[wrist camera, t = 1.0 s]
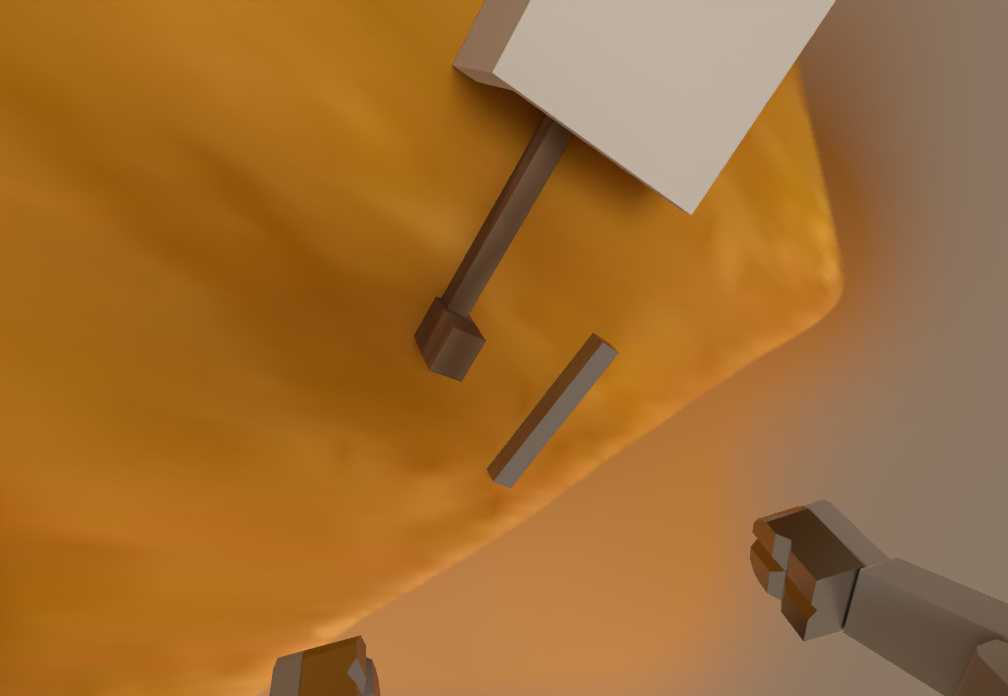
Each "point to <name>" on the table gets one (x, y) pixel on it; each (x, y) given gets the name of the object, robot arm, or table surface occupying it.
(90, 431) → the table surface
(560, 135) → the hooked rake
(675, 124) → the small white bench
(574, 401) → the straight rod
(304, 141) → the table surface
